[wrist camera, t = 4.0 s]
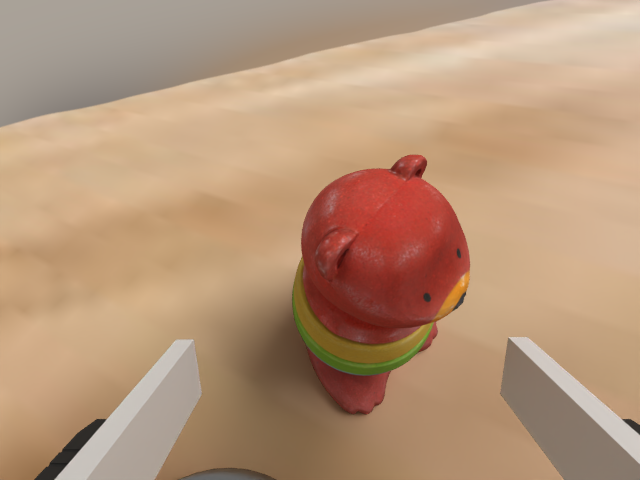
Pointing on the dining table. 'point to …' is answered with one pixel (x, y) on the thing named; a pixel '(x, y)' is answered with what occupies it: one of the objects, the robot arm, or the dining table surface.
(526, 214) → the dining table surface
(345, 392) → the stacking bear
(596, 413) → the robot arm
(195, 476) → the pedestal
